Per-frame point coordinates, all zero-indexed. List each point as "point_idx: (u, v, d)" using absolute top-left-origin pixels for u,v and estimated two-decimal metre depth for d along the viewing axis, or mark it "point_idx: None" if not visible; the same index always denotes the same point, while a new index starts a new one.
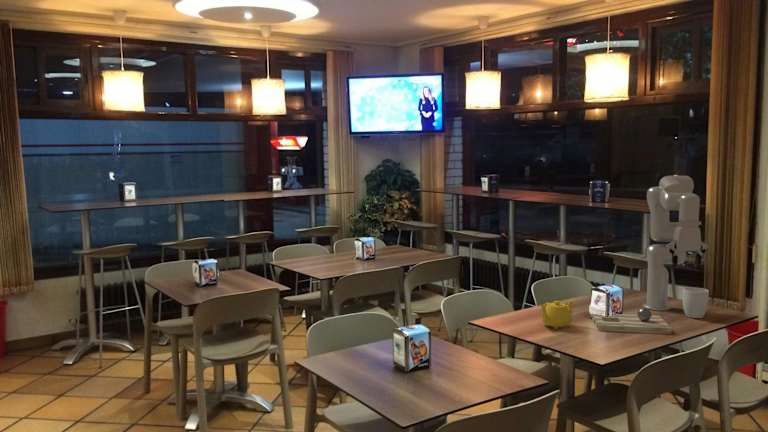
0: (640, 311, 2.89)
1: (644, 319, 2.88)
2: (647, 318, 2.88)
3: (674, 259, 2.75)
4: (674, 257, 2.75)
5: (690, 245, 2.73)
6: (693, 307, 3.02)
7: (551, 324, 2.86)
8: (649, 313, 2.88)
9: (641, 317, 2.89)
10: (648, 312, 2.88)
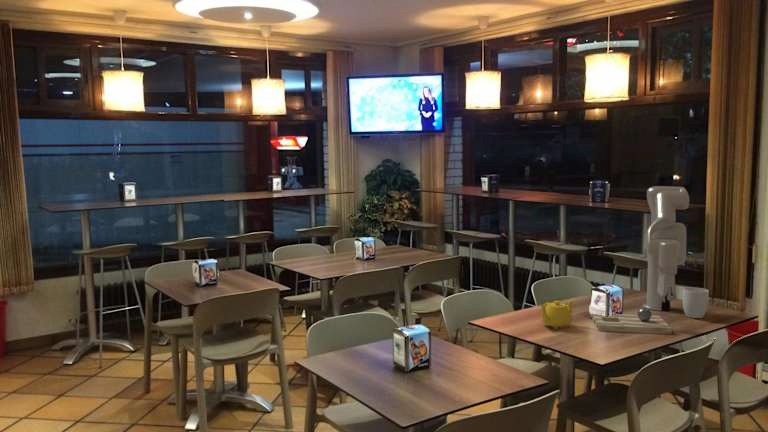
0: (640, 311, 2.89)
1: (644, 319, 2.88)
2: (647, 318, 2.88)
3: None
4: None
5: None
6: (693, 307, 3.02)
7: (551, 324, 2.86)
8: (649, 313, 2.88)
9: (641, 317, 2.89)
10: (648, 312, 2.88)
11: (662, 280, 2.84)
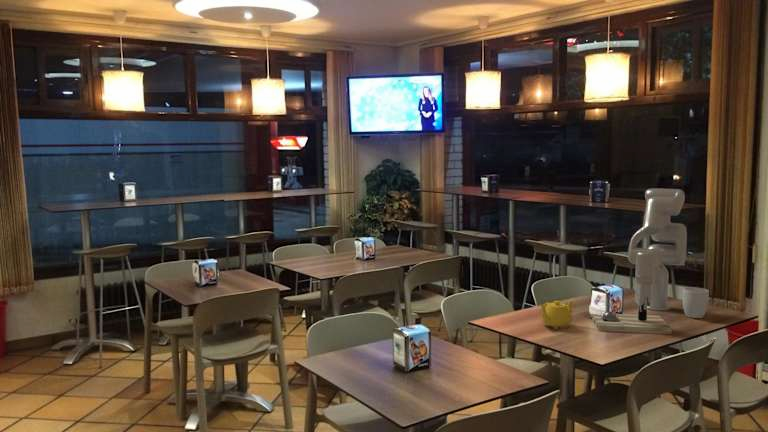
0: (611, 312, 2.94)
1: (606, 315, 2.92)
2: (608, 316, 2.91)
3: (645, 315, 2.89)
4: (645, 313, 2.89)
5: None
6: (693, 307, 3.02)
7: (551, 324, 2.86)
8: (613, 317, 2.91)
9: (606, 312, 2.93)
10: (614, 316, 2.91)
11: (639, 290, 2.86)
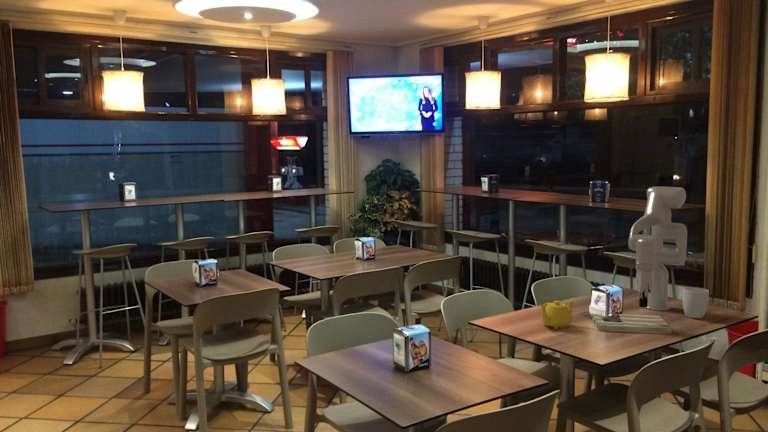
0: None
1: (612, 316, 2.90)
2: (613, 319, 2.89)
3: (646, 302, 2.89)
4: (645, 300, 2.89)
5: None
6: (693, 307, 3.02)
7: (551, 324, 2.86)
8: None
9: (614, 314, 2.90)
10: (618, 321, 2.90)
11: (639, 277, 2.86)
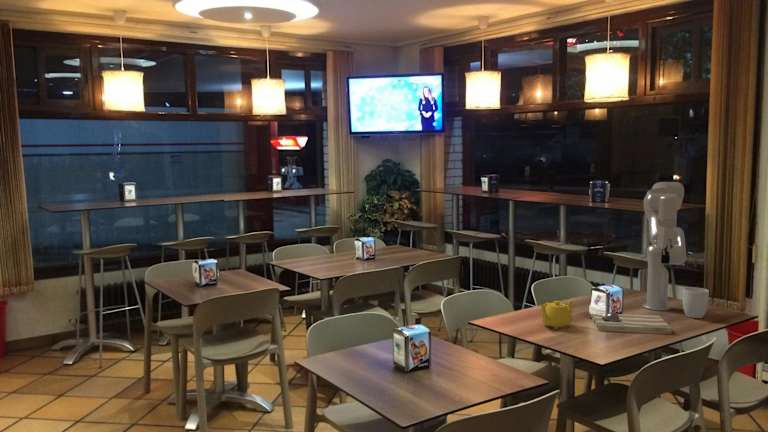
0: (617, 314, 2.92)
1: (610, 316, 2.90)
2: (612, 319, 2.90)
3: (668, 258, 2.94)
4: (667, 257, 2.94)
5: None
6: (693, 307, 3.02)
7: (551, 324, 2.86)
8: (616, 321, 2.90)
9: (612, 314, 2.91)
10: (617, 321, 2.90)
11: (662, 233, 2.91)
